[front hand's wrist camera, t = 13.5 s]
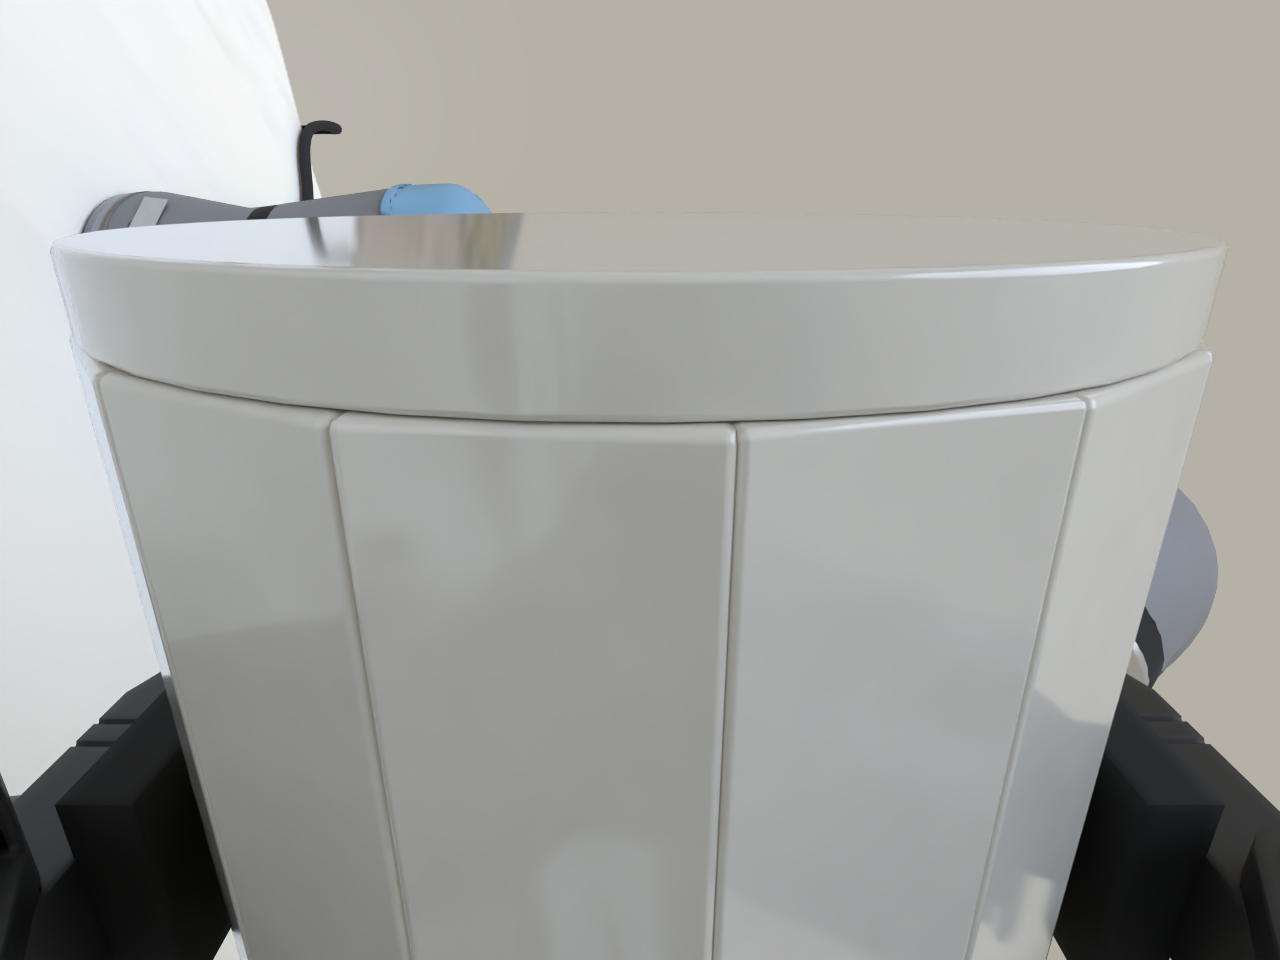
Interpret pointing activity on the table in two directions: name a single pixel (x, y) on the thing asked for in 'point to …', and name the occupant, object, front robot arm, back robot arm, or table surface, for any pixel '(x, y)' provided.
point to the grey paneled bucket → (642, 565)
